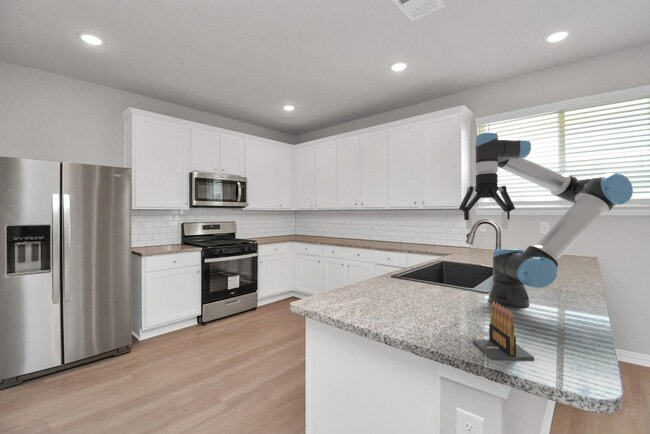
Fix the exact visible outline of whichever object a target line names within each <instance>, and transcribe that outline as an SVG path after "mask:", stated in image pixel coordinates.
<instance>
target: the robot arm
mask: <svg viewBox="0 0 650 434" xmlns="http://www.w3.org/2000/svg"><path fill="white" fill-rule="evenodd" d="M475 137H476V138H475V145H474V147H475V174H476V175H475V186H472V185H470V186H468V187H467V188H466V189H467V190H466V193H465V195H464V197H463V199H462V201H461V203H460V205H459V208H458V210H460V211H462V212H463V219H464V221H466V229H468V230H471V229H472V211H471V209H472V208H473V207H474V206H475V205H476V203H478V202H479V200H480V199H484V198H487V199H490V198H491V199H493V200H494V201H495V202H496V203H497V205H498V206H499V207H500V208H501V209H502V210H503V211H501V229H503V230H504V229H508V221H509V220H510V217H511V216H510V215H511V214H510V212H511V211H514V210H515V209H516V207H515V205H514V203H513V201H512V199H511V197H510V195H509V193H508V191H507V186H506V185H501V186H498V171H499V170H498V169H502V170H504V171H506V172H509V173H511V174H513V175H515V176H517V177H519V178H522V179H524V180H526V181H528V182H531V183H533V184H535V185H537V186H540V187H541V188H545V190H549V191H550V193H551V194H552V195H554V196H556V197H558V198H559V199H560V198H561V199H563V200H565V201H567V202H569V203H572V206H570V207H569V209H568V210H567V211H566V212H565V213H564V214H563V216H562V217H560V218H559V220H558V221H557V222H556V223H555V224H554V225H553V226H552V227H551V228H550V229H549V230H548V232H547V233H546V234H545V235H544V236H543V237H542V238H541V239H540V240H539V241H538V242H537V243H536V244H534V245H528V246H527V248H526V249H525V250H524V249H523V248H511V249H509V248H507V249H506V248H505V249H495V250H493V252H492V279H493V280H492V285H491V288H490V290H489V293H488V302H490V303H492V302H493V301H494V302H495V304H496V302H497V303H498V305H499V304H500V305H501V306H502V307H503V306H504V307H511V308H524V307H525V308H526V307H529V306H530V297H529V294H528V291H527V289H526V286H527V287H531V288H537V289H538V288H539V289H541V288H546V287H549V286H550V285H552V284H553V283H554V282H555V281H556V279H557V277H558V274H557V273H558V267H559V265H560V262H559V259H560V258H561V257H562V256H563V255H564V254H565V253H566V251H567V250H568V249H569V248H570V247H571V246H572V245H573V244H574V243H575V241H576V240H577V239H578V238H579V237H581V235H582V234H583V233H584V232H585V231H586V230H587V229H588V228H589V227H590V226H591V225H592V223H594V221H595V220H596V219H597V218H598V217H599V215H606V214H608V213H609V212H610V211H612V209H613V208H614V207H615V206H616V205H623V204H626V203H628V202H629V201H630V200H631V198H632V197H633V193H634V189H633V184H632V182H631V181H630V179H629V178H628V177H627V176H626V175H623V174H621V173H605V174H599V175H590V176H584V177H578V176H573V175H569V174H567V173H564V174H561V173H559V172H556V171H554V170H552V169H550V168H547V167H545V166H543V165H541V164H539V163H536V162H534V161H532V160H531V159H528V158H527V157H528V156H529V155H530V153H531V149H532V143H531V142H530V140H529V139H528V138H523V137H522V138H519V137H517V138H499V136H498V133H497V132H493V131H487V132H481V133H479V134H477V136H475ZM474 192H476V193H475V194H474V196H473V193H474ZM498 192H499V193H500V195H501V197H502V198H501V197H500V195H499V194H498ZM472 196H473V198H472V199H471V197H472ZM470 199H471V200H470Z"/></svg>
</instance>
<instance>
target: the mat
mask: <svg viewBox="0 0 650 434" xmlns="http://www.w3.org/2000/svg"><path fill="white" fill-rule="evenodd" d="M472 340H473V341H472V343H473V344H474V345H476V347H477V348H478V349H479V350H480V351H481V352H483V354H485V355H486V356H487V357H488V358H489V359H490V360H493V361H534V360H535V356H534V355H532V354H531V353H529V352H528V351H527V350H525V349H524V348H522V347H521V346H519V344H517V343H516V356H508V355H507V354H506V353H505V352H503V351H502V350H501V349H500V348H499V347H497V346H496V345H495V344H494V343H492V342H491V341H490V340H489V339H472Z"/></svg>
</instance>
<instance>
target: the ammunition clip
mask: <svg viewBox="0 0 650 434" xmlns="http://www.w3.org/2000/svg"><path fill="white" fill-rule="evenodd" d="M488 326H489V327H488V332H489V339H488V340H490V341H491V342H492V343H494V344H495V345H496V346H497V347H499V348H500V349H501V350H502V351H503V352H505V353H506V354H507V355H508V356H516V344H517V343H516V342H517V341H516V340H517V338H516V336H515V324H514V314H513V311H512V310H511V309H510V310H509V308H507V307H506V308H505V306H503V305H500V304H498V303H497V302H496V304H495V302H494V301H493V302H491V312H490V322H489V325H488Z"/></svg>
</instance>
